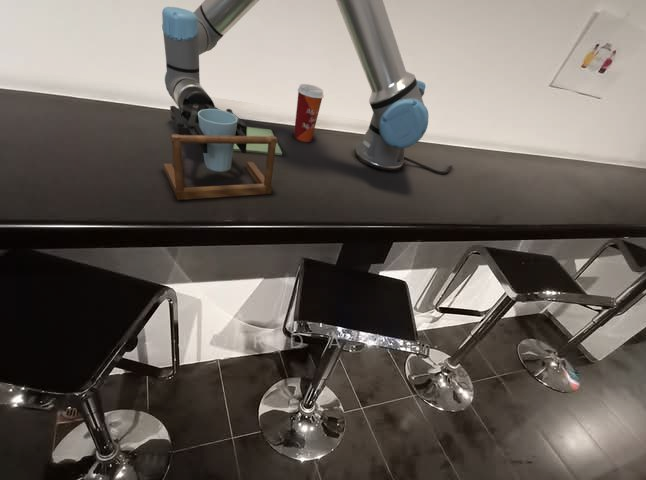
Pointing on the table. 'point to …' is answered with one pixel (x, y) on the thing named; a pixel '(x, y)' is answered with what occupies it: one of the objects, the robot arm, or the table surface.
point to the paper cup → (307, 111)
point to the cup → (218, 126)
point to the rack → (261, 187)
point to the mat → (258, 147)
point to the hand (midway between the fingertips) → (225, 146)
